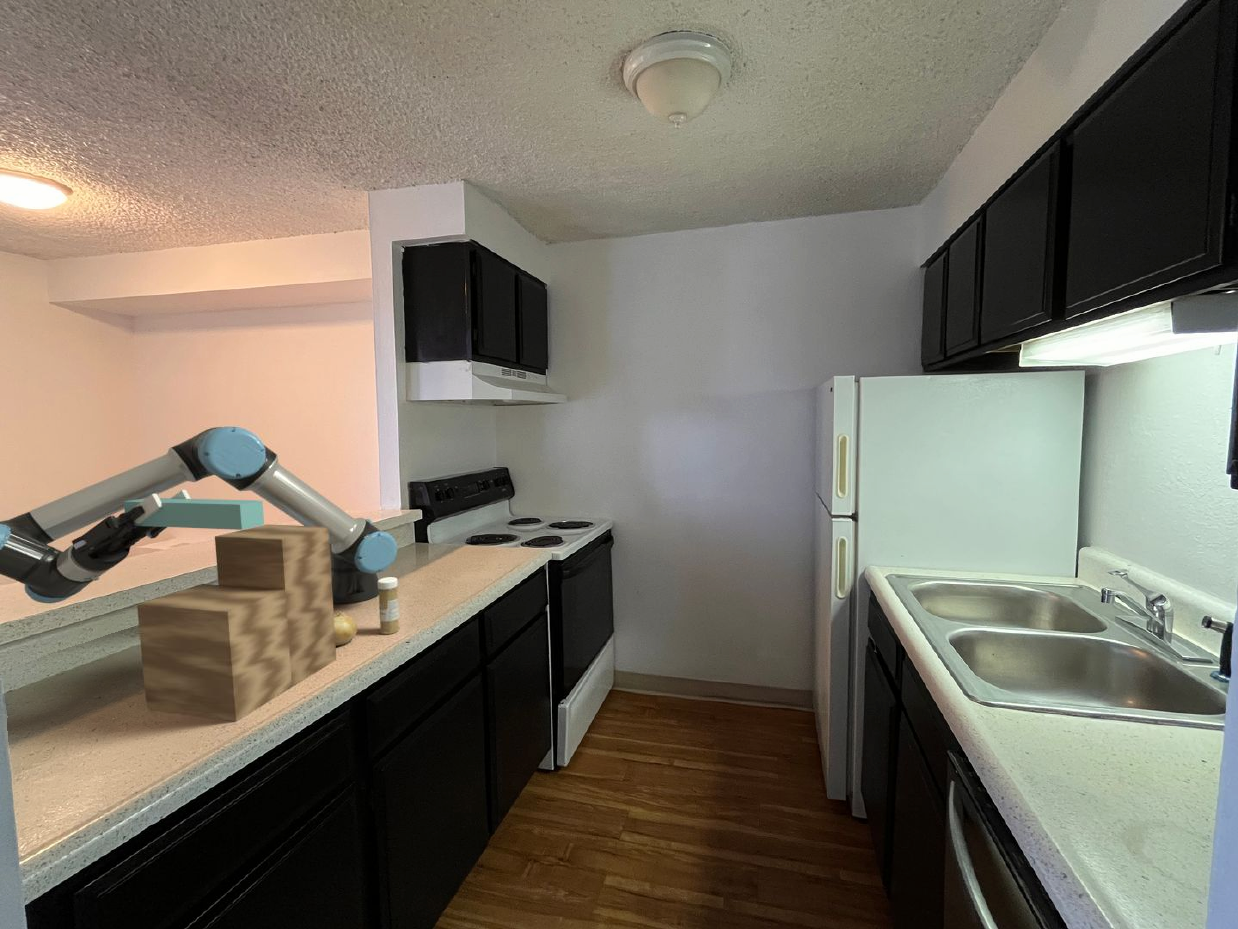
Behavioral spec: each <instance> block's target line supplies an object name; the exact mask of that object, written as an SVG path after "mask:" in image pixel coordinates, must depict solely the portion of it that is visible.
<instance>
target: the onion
mask: <svg viewBox="0 0 1238 929" xmlns="http://www.w3.org/2000/svg"><path fill="white" fill-rule="evenodd" d="M333 613H334V614H335V615H334V630H335V646H336V647H339V646H342V645H347V644H348V643H350V641H351V640H353V639H354V638H355V636H356V635H357V632H358V626H357V623H356V622H355V620H354V618H352V617H350V616H349V615H346V614H345V613H344V612H342V611H339V612H336V611H333Z"/></svg>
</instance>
